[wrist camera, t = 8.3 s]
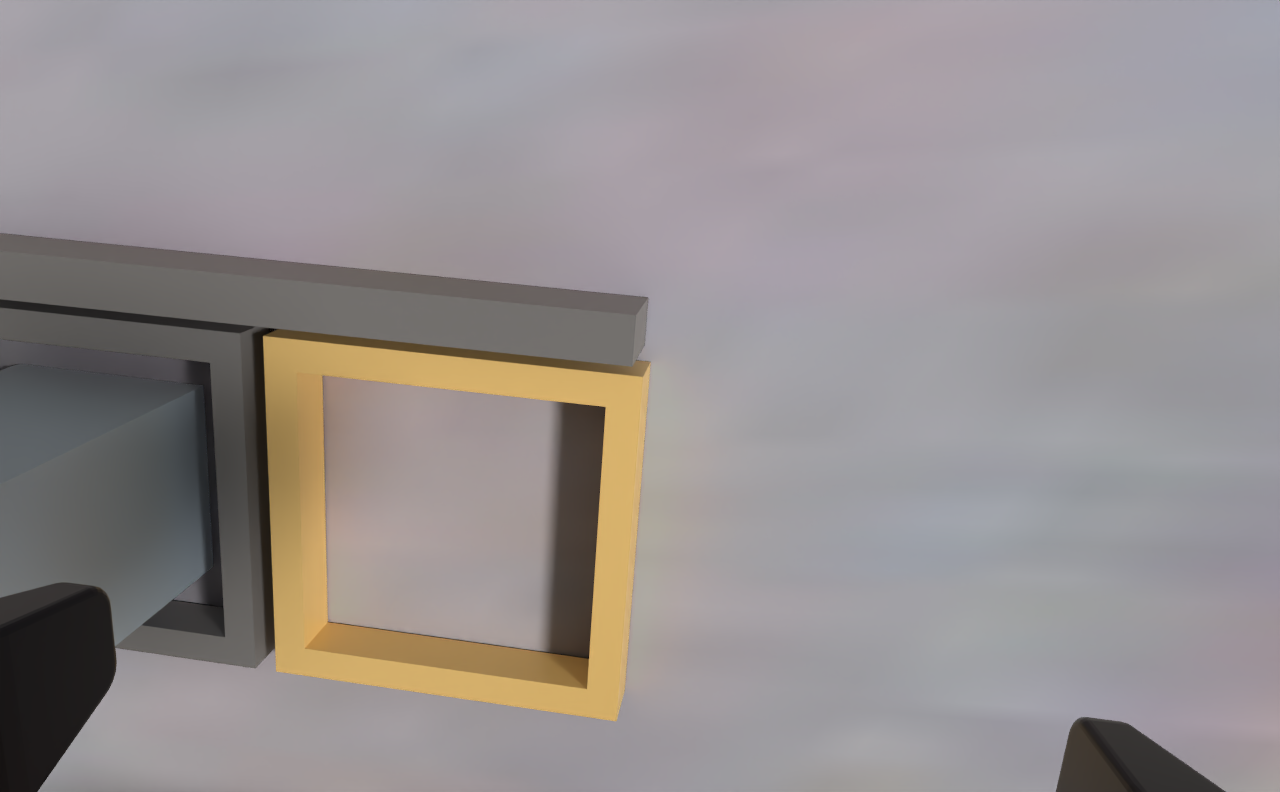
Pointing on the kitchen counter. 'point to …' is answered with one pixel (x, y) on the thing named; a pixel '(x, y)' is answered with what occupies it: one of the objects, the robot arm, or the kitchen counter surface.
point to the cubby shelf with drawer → (294, 438)
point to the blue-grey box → (103, 487)
